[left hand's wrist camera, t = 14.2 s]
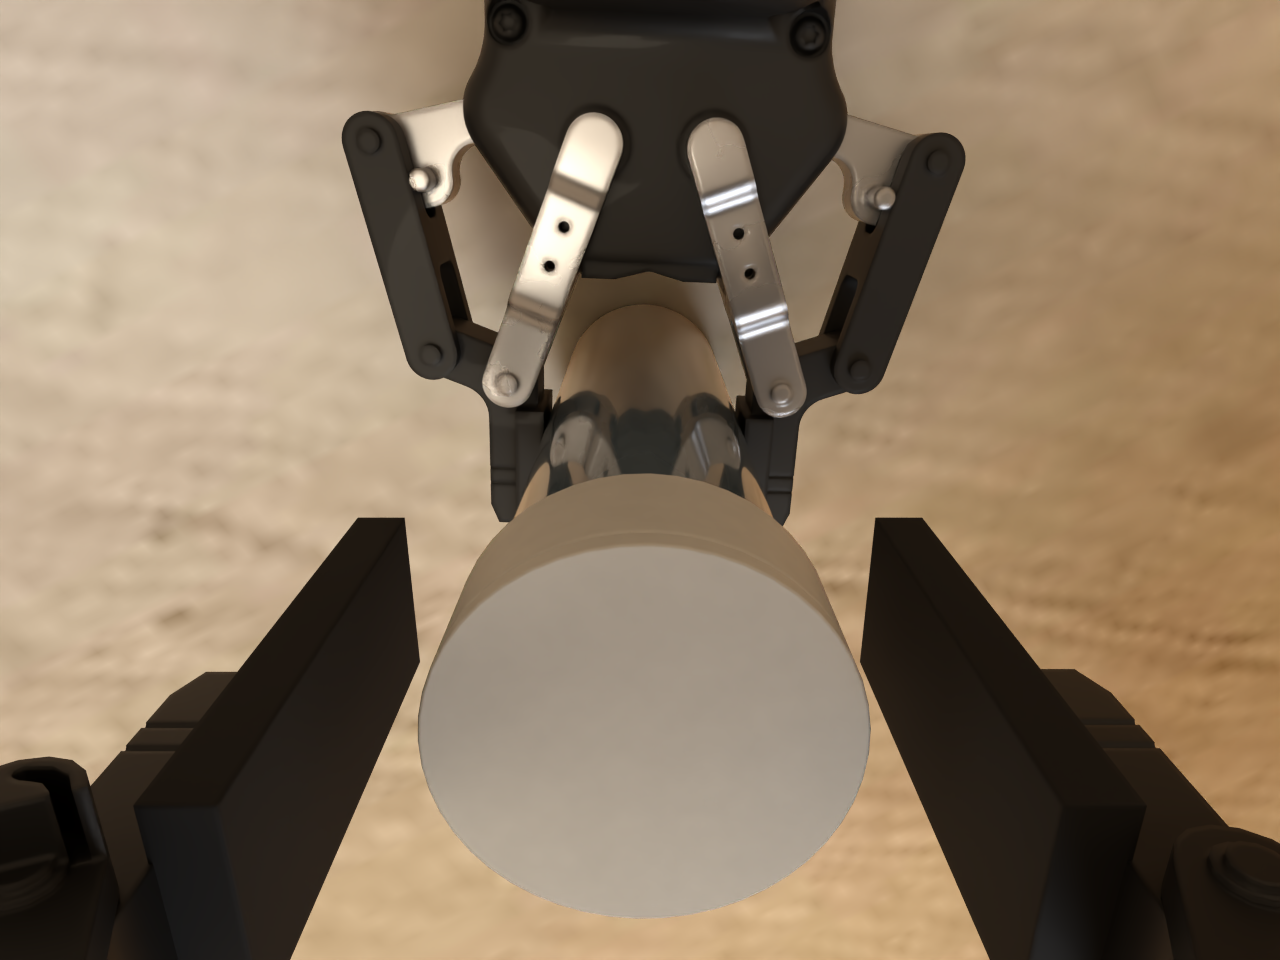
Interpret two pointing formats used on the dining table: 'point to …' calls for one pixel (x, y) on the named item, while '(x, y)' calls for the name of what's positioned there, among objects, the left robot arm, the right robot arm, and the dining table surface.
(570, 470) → the grey cylinder
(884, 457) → the dining table surface
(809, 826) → the lid
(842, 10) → the dining table surface
